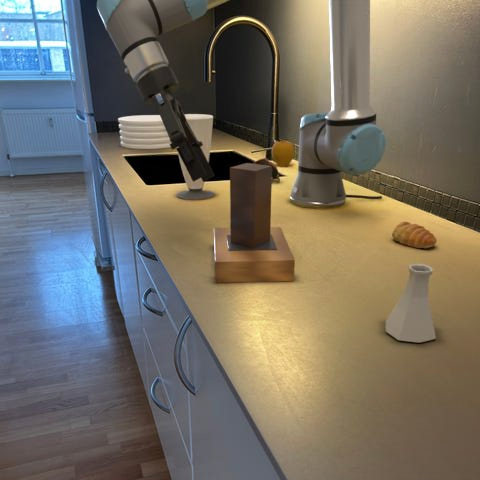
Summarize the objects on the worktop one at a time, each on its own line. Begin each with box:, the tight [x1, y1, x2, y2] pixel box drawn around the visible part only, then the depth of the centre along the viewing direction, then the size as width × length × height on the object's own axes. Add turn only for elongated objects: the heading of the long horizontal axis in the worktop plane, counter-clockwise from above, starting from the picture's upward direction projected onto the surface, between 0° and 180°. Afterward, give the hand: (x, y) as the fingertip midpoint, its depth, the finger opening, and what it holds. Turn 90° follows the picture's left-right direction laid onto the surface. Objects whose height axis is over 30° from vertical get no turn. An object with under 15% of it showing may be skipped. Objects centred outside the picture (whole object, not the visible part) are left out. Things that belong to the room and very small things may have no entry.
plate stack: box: [117, 114, 172, 150], centre depth 236 cm, size 28×28×12 cm
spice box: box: [229, 162, 273, 248], centre depth 95 cm, size 6×6×14 cm
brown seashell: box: [252, 157, 281, 184], centre depth 165 cm, size 12×10×8 cm
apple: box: [270, 140, 295, 167], centre depth 189 cm, size 9×8×9 cm
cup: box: [175, 113, 216, 201], centre depth 144 cm, size 12×12×22 cm
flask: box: [384, 263, 437, 344], centre depth 72 cm, size 7×7×10 cm
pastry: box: [391, 221, 438, 249], centre depth 109 cm, size 9×7×4 cm
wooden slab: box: [213, 226, 296, 284], centre depth 99 cm, size 14×20×4 cm
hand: (204, 178), depth 101 cm, fingers open, 13 cm apart
